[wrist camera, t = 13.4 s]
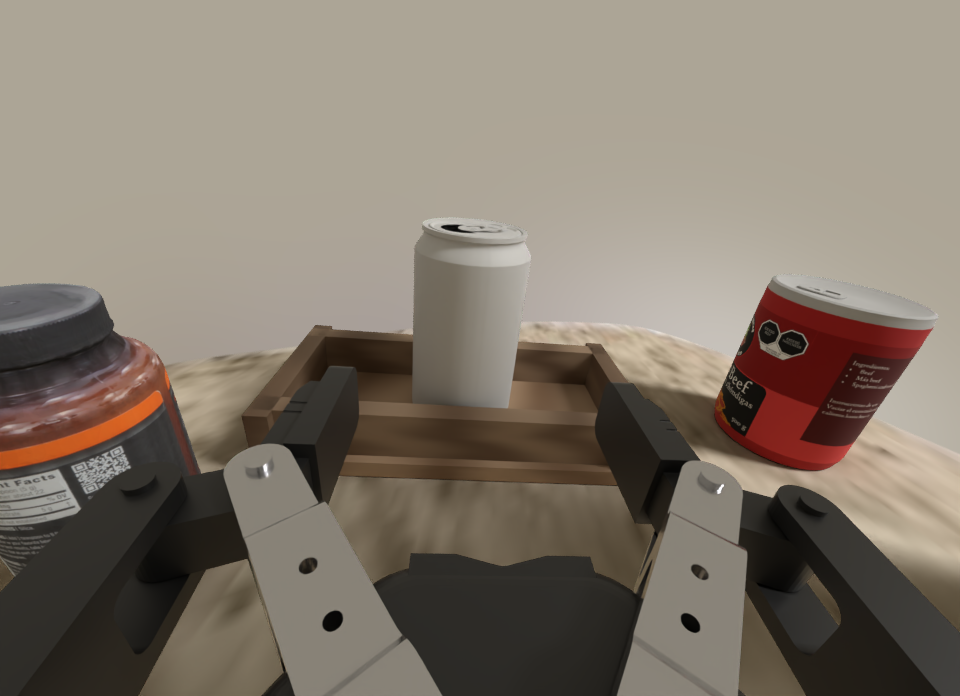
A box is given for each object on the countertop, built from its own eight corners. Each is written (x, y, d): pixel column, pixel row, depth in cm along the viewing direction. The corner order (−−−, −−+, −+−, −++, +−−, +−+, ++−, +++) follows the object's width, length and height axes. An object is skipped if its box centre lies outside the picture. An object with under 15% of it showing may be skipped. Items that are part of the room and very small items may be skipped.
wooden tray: (590, 384, 32) (600, 343, 31) (645, 486, 23) (665, 435, 21) (320, 368, 31) (315, 325, 29) (254, 472, 21) (241, 415, 19)
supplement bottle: (127, 486, 19) (29, 264, 14) (243, 501, 19) (186, 282, 14) (-18, 611, 14) (-258, 330, 9) (139, 634, 14) (-12, 361, 9)
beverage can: (405, 387, 28) (405, 212, 22) (489, 379, 30) (508, 216, 24) (421, 447, 22) (426, 236, 17) (522, 432, 24) (556, 239, 19)
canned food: (715, 392, 33) (771, 267, 28) (831, 432, 30) (919, 296, 25) (703, 436, 28) (771, 289, 23) (845, 493, 24) (964, 331, 19)
